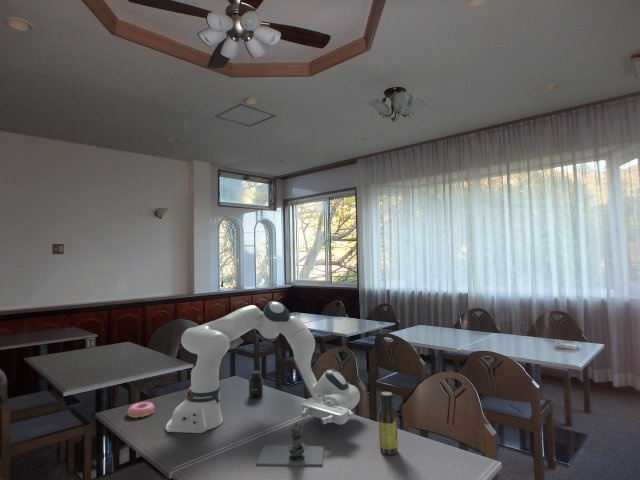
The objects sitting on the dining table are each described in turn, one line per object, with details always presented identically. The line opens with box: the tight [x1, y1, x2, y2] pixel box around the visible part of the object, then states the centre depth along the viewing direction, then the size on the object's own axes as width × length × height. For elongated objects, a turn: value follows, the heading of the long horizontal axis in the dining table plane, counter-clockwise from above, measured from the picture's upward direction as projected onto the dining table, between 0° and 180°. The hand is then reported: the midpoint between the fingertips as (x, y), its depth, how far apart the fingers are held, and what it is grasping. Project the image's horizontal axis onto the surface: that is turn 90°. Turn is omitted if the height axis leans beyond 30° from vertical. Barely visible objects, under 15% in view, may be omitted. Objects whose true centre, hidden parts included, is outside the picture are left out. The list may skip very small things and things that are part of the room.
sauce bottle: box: [378, 391, 399, 455], centre depth 137 cm, size 6×6×20 cm
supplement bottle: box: [248, 370, 264, 400], centre depth 192 cm, size 7×7×12 cm
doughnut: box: [127, 401, 155, 419], centre depth 173 cm, size 11×11×4 cm
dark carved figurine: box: [287, 421, 306, 462], centre depth 133 cm, size 6×6×12 cm
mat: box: [255, 444, 325, 467], centre depth 135 cm, size 22×12×1 cm, turn 86°
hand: (312, 418), depth 145 cm, fingers open, 8 cm apart
